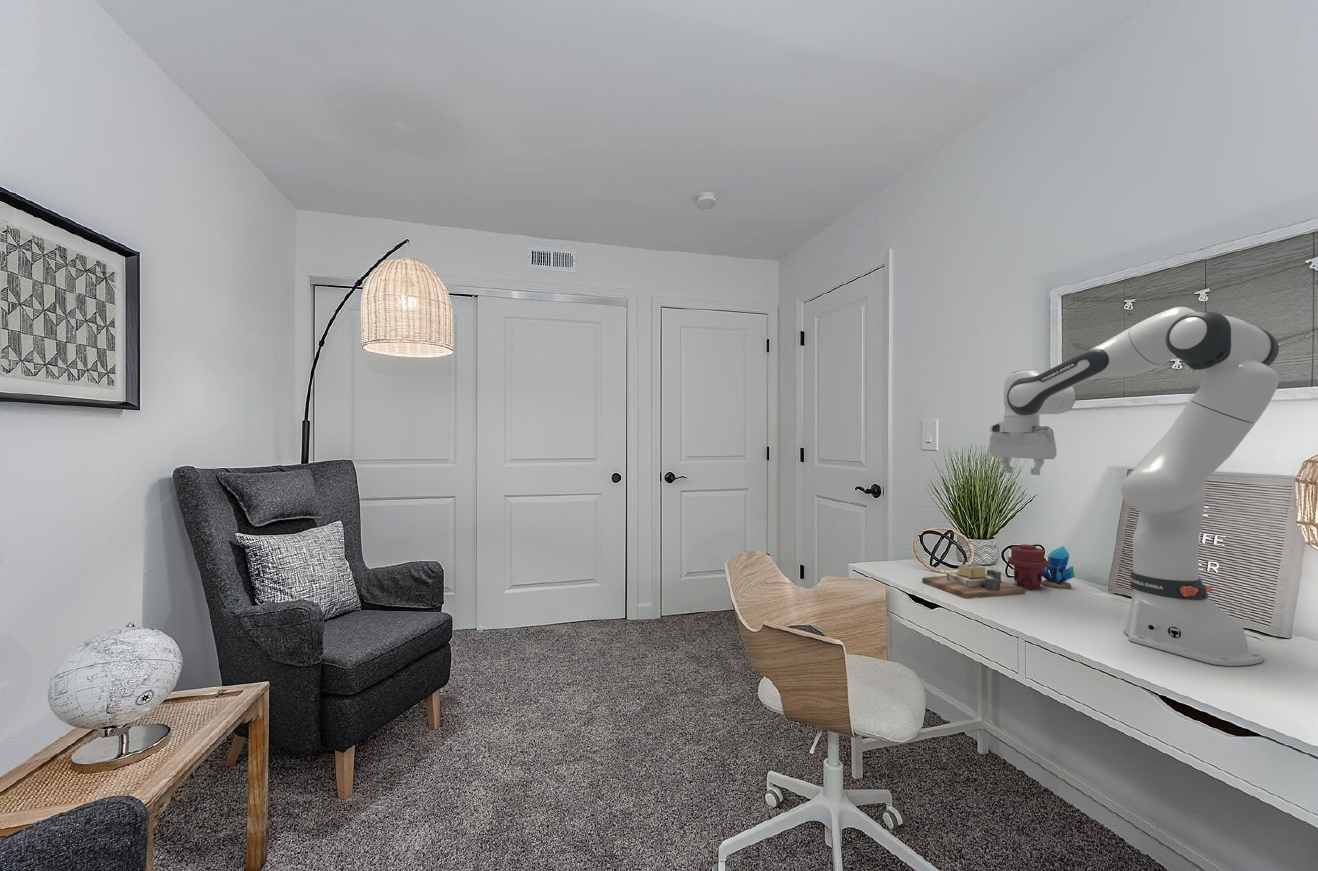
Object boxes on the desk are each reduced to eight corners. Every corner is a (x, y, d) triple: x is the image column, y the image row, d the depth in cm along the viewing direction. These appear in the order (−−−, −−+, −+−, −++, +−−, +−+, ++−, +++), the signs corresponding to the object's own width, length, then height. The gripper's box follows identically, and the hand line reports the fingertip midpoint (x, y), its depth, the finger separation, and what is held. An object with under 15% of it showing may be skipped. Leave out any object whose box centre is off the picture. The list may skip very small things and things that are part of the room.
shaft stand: (1025, 593, 164) (1025, 577, 164) (965, 598, 160) (965, 582, 160) (977, 578, 182) (977, 564, 182) (922, 582, 177) (922, 567, 177)
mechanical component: (1034, 592, 165) (1000, 584, 174) (1055, 588, 169) (1021, 580, 178) (1034, 550, 165) (1000, 544, 174) (1055, 547, 169) (1021, 541, 178)
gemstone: (1056, 581, 177) (1056, 542, 177) (1078, 589, 168) (1078, 548, 168) (1033, 582, 176) (1033, 543, 176) (1054, 589, 168) (1054, 548, 168)
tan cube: (985, 584, 169) (985, 567, 169) (971, 585, 167) (970, 568, 167) (972, 580, 173) (972, 563, 173) (958, 581, 172) (958, 564, 172)
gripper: (1062, 425, 158) (1062, 476, 158) (1002, 426, 178) (1002, 471, 178) (1043, 426, 156) (1043, 476, 156) (985, 426, 176) (985, 471, 176)
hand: (1021, 473), depth 167 cm, fingers open, 8 cm apart
